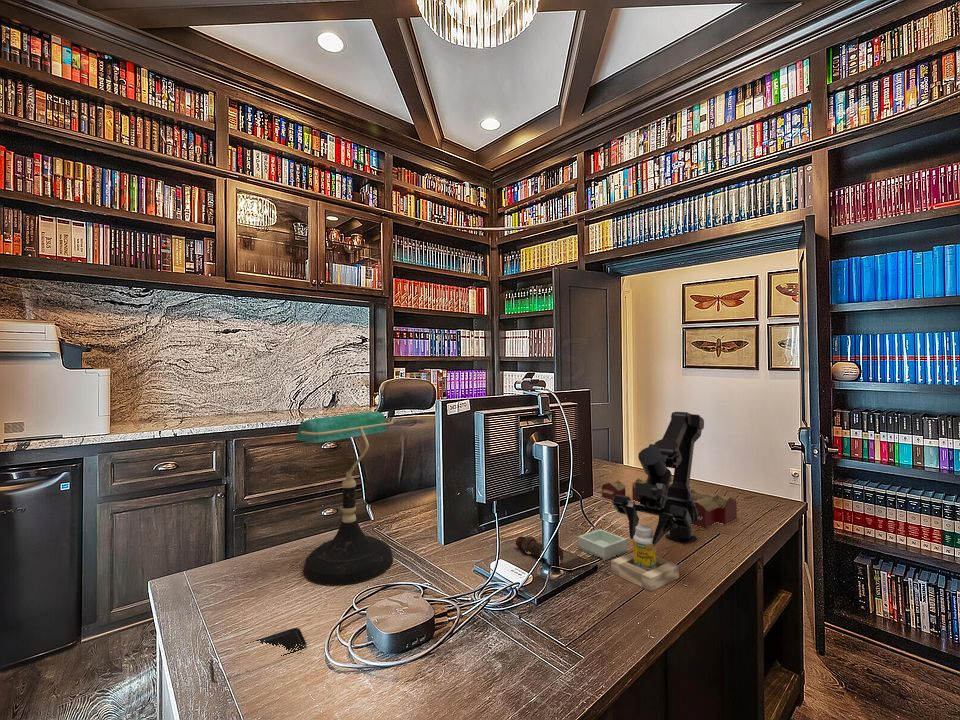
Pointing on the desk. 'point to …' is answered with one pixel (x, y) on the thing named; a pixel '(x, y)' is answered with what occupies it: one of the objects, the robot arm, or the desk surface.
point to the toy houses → (707, 506)
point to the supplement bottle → (644, 548)
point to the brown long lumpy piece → (533, 546)
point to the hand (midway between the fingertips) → (642, 541)
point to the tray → (602, 544)
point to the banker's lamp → (346, 510)
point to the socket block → (645, 572)
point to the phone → (286, 639)
